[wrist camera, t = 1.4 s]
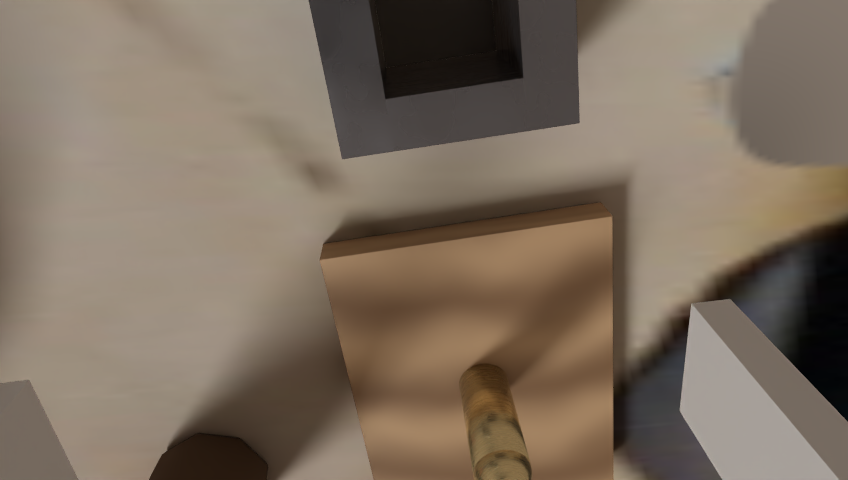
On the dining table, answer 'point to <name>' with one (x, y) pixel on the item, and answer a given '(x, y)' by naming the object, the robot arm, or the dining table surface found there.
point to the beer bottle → (210, 460)
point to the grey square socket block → (448, 79)
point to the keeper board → (480, 338)
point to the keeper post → (493, 425)
